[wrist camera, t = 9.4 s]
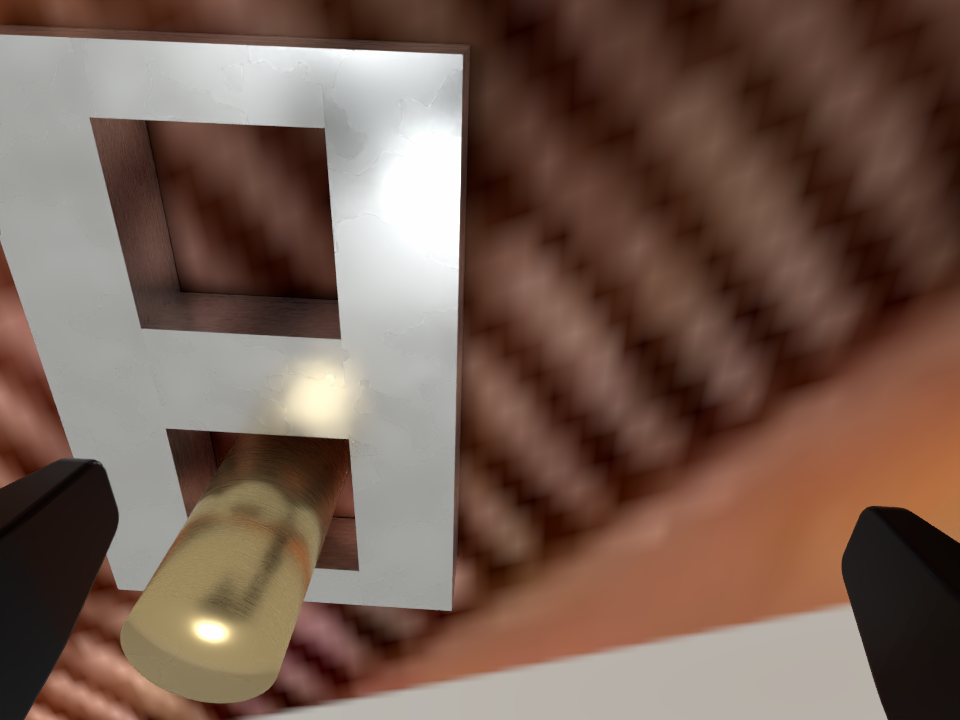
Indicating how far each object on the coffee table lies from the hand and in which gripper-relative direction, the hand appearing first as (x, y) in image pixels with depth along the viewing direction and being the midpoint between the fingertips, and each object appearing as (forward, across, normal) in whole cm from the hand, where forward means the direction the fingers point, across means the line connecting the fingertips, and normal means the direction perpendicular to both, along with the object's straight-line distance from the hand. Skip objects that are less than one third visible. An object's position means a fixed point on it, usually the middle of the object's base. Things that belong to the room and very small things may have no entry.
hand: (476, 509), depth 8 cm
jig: (+12, +7, +5) cm, 15 cm away
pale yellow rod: (+12, +7, +10) cm, 17 cm away
